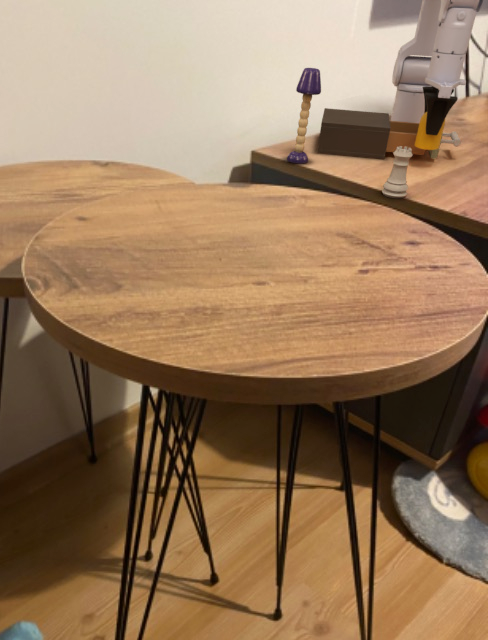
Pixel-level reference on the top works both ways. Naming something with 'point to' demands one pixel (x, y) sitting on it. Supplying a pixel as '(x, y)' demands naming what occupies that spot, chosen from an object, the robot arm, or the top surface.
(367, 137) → the cabinet
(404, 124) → the drawer
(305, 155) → the toy lamp
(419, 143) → the pepper
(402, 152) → the rook chess piece
